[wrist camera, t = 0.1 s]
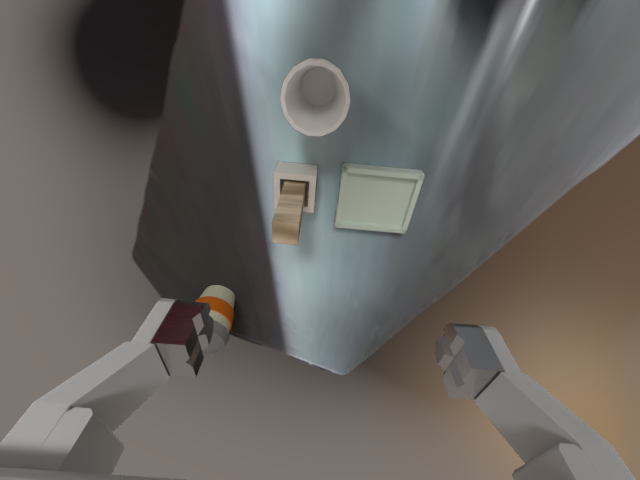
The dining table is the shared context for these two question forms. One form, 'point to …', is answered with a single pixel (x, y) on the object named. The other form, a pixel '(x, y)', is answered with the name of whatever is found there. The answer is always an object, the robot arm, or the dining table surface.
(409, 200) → the tray
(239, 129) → the dining table surface
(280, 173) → the white square container
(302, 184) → the tan wooden block
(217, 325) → the reusable coffee cup
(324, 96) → the foam cup
